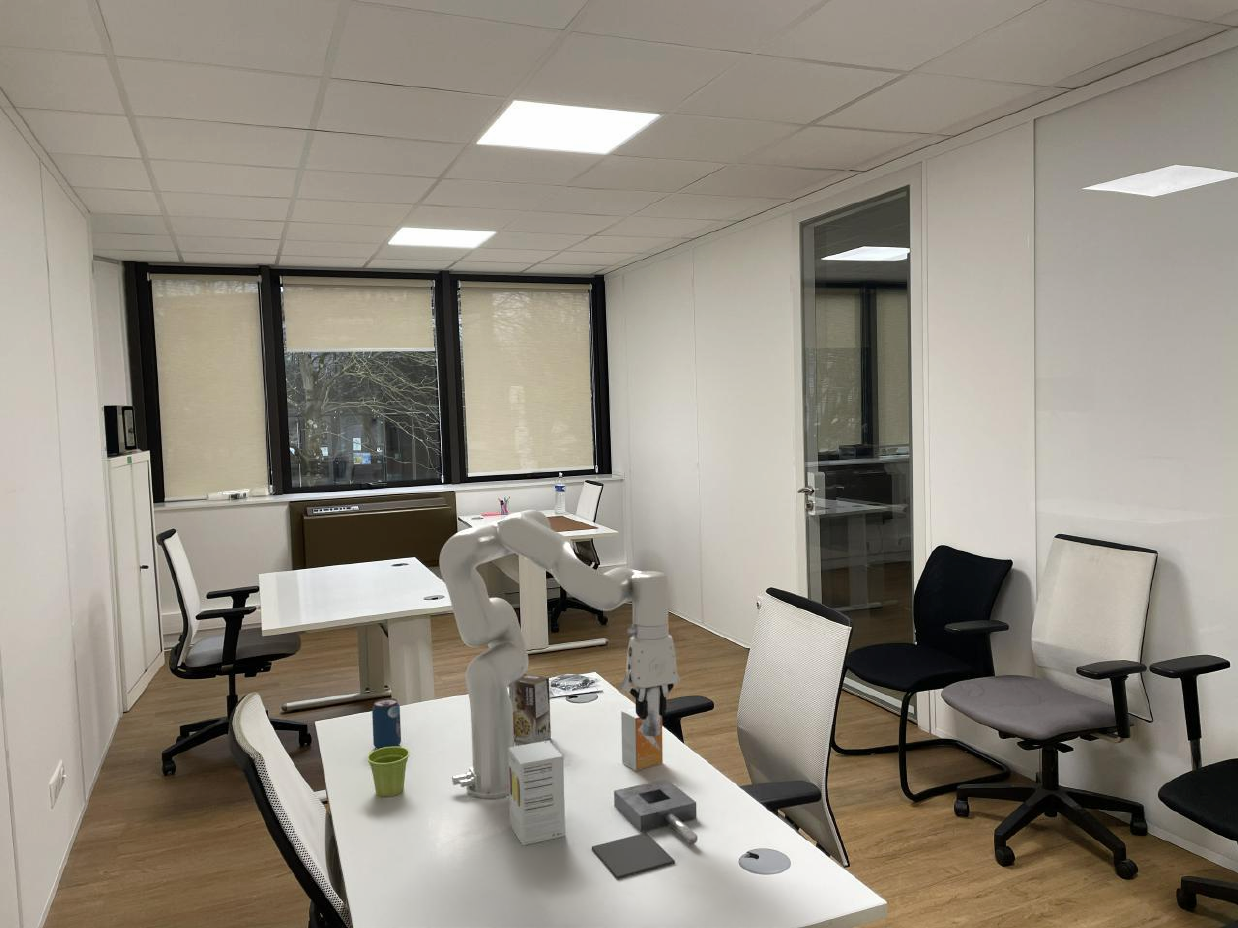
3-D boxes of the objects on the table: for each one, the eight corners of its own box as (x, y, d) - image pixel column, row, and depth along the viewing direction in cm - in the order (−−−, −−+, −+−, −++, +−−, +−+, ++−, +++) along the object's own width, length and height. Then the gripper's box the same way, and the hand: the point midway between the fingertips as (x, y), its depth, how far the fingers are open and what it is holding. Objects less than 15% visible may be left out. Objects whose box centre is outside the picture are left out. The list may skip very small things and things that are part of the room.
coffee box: (552, 737, 224) (550, 677, 223) (537, 745, 219) (535, 684, 218) (524, 731, 229) (523, 672, 228) (509, 739, 224) (507, 679, 223)
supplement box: (509, 825, 177) (506, 746, 176) (551, 816, 181) (549, 738, 180) (522, 846, 168) (520, 763, 167) (566, 836, 172) (564, 755, 171)
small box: (636, 771, 202) (635, 718, 201) (621, 762, 207) (620, 710, 206) (663, 763, 206) (662, 710, 205) (648, 754, 212) (647, 703, 211)
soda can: (405, 748, 219) (403, 702, 219) (378, 754, 216) (376, 708, 215) (395, 739, 225) (394, 695, 224) (370, 746, 221) (368, 700, 221)
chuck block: (663, 855, 163) (663, 837, 163) (614, 806, 184) (614, 790, 184) (721, 839, 169) (721, 822, 169) (667, 793, 190) (667, 778, 190)
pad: (617, 879, 155) (617, 876, 155) (591, 849, 166) (591, 846, 166) (674, 863, 160) (674, 860, 160) (646, 835, 171) (646, 832, 171)
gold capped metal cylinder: (638, 730, 181) (637, 670, 180) (655, 727, 183) (655, 667, 182) (646, 737, 177) (646, 675, 177) (664, 734, 179) (664, 673, 178)
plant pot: (419, 790, 194) (417, 753, 194) (382, 804, 188) (381, 766, 187) (396, 779, 201) (395, 743, 200) (360, 792, 194) (359, 755, 193)
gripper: (622, 639, 172) (622, 728, 173) (693, 630, 179) (694, 715, 180) (607, 631, 179) (607, 716, 180) (676, 622, 186) (677, 704, 187)
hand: (651, 714), depth 180 cm, fingers closed on gold capped metal cylinder, 3 cm apart
